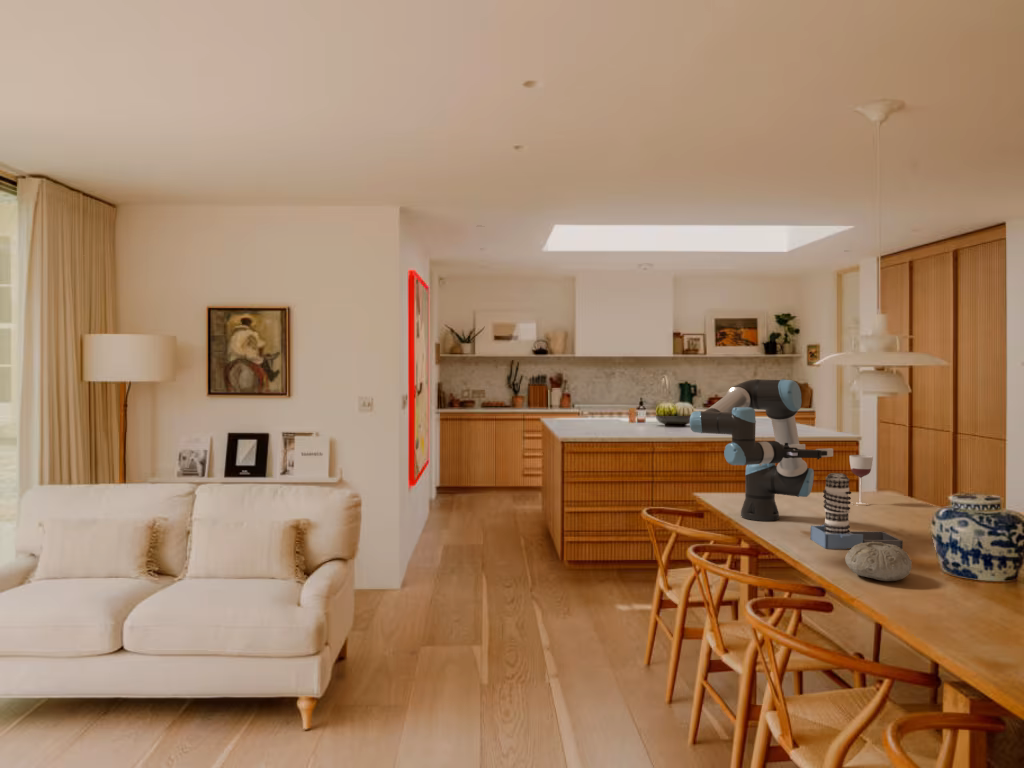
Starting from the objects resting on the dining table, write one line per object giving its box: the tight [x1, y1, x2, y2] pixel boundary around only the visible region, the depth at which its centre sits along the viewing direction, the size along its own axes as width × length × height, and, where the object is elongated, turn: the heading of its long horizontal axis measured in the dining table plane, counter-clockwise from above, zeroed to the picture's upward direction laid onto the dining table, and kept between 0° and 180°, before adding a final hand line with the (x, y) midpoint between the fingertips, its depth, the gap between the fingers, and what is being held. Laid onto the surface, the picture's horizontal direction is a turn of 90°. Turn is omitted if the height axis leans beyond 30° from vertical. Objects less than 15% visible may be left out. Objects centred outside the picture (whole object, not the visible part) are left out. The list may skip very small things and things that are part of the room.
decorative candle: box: [822, 472, 852, 534], centre depth 257 cm, size 9×9×25 cm
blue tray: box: [809, 524, 863, 550], centre depth 257 cm, size 13×18×5 cm
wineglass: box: [849, 454, 874, 504], centre depth 330 cm, size 9×10×22 cm
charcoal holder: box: [848, 530, 904, 550], centre depth 257 cm, size 14×14×3 cm
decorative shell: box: [844, 541, 913, 582], centre depth 218 cm, size 18×18×10 cm
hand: (818, 450), depth 254 cm, fingers open, 13 cm apart
